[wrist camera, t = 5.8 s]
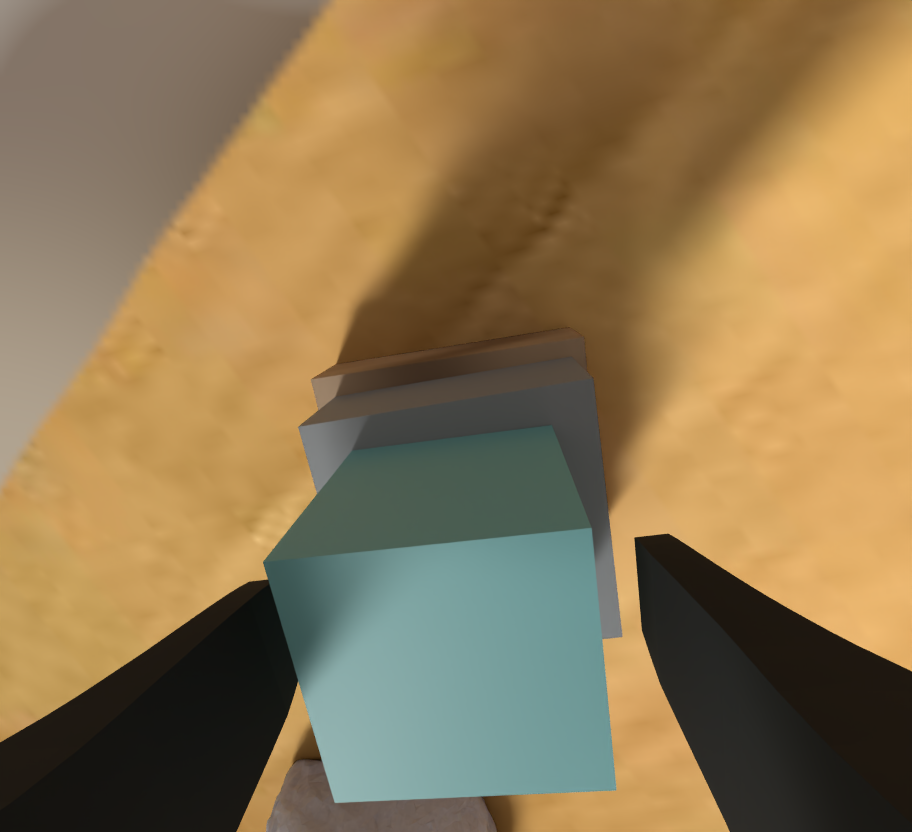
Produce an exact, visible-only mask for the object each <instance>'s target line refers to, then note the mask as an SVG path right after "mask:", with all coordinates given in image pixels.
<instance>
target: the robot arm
mask: <svg viewBox="0 0 912 832" xmlns="http://www.w3.org/2000/svg"><path fill="white" fill-rule="evenodd" d="M635 550H636V563H637V575H638V587H639V600H640V612H641V625H642V632H643V635H644V638H645V641H646V644H647V647H648V650H649V653H650V656H651V659H652V662H653V665H654V667H655V670H656V673H657V676H658V679H659V682H660V684H661V686H662V689H663V691H664V693H665V695H666V697H667V699H668V702H669V704H670V706H671V708H672V710H673V712H674V714H675V717H676V719H677V721H678V723H679V725H680V727H681V729H682V731H683V734H684V736H685V738H686V740H687V742H688V744H689V746H690V748H691V750H692V752H693V755H694V757H695V759H696V761H697V763H698V765H699V767H700V769H701V771H702V773H703V776H704V778H705V780H706V782H707V784H708V786H709V788H710V790H711V792H712V795H713V797H714V799H715V801H716V803H717V805H718V807H719V809H720V811H721V813H722V816H723V818H724V820H725V822H726V824H727V826H728V829H729V831H730V832H912V671H910V670H908V669H906V668H903V667H901V666H899V665H897V664H895V663H893V662H891V661H889V660H887V659H885V658H882V657H880V656H878V655H876V654H874V653H872V652H870V651H868V650H866V649H863V648H861V647H859V646H857V645H855V644H853V643H851V642H849V641H848V640H846V639H844V638H842V637H840V636H838V635H836V634H834V633H832V632H830V631H828V630H826V629H825V628H823V627H821V626H819V625H817V624H816V623H814V622H812V621H810V620H808V619H806V618H805V617H803V616H801V615H799V614H797V613H796V612H794V611H792V610H790V609H788V608H787V607H785V606H783V605H781V604H780V603H778V602H776V601H775V600H773V599H771V598H769V597H768V596H766V595H764V594H763V593H761V592H759V591H758V590H756V589H754V588H753V587H751V586H750V585H748V584H746V583H745V582H743V581H742V580H740V579H738V578H737V577H735V576H734V575H732V574H730V573H729V572H727V571H726V570H724V569H723V568H721V567H720V566H718V565H716V564H715V563H713V562H712V561H710V560H709V559H707V558H706V557H704V556H703V555H701V554H700V553H698V552H697V551H695V550H694V549H692V548H691V547H689V546H687V545H686V544H684V543H683V542H681V541H680V540H678V539H677V538H675V537H673V536H672V535H670V534H661V535H653V536H644V537H635ZM297 683H298V678H297V674H296V671H295V668H294V664H293V661H292V658H291V654H290V651H289V648H288V644H287V641H286V637H285V634H284V631H283V627H282V624H281V621H280V617H279V614H278V611H277V607H276V604H275V601H274V597H273V594H272V590H271V587H270V584H269V580H261V581H252V582H248V583H246V584H244V585H242V586H241V587H239V588H237V589H236V590H234V591H232V592H231V593H229V594H228V595H226V596H225V597H223V598H222V599H220V600H219V601H217V602H216V603H214V604H213V605H211V606H210V607H208V608H207V609H205V610H204V611H202V612H201V613H200V614H198V615H197V616H195V617H194V618H192V619H191V620H190V621H188V622H187V623H185V624H184V625H182V626H181V627H180V628H178V629H177V630H175V631H174V632H172V633H171V634H170V635H168V636H167V637H165V638H164V639H162V640H161V641H160V642H158V643H157V644H155V645H154V646H152V647H151V648H150V649H148V650H147V651H145V652H144V653H142V654H141V655H139V656H138V657H136V658H135V659H133V660H132V661H130V662H129V663H127V664H126V665H124V666H123V667H121V668H120V669H118V670H117V671H115V672H114V673H112V674H111V675H109V676H108V677H106V678H105V679H103V680H102V681H100V682H99V683H97V684H96V685H94V686H92V687H91V688H89V689H88V690H86V691H85V692H83V693H82V694H80V695H79V696H77V697H76V698H74V699H72V700H71V701H69V702H68V703H66V704H64V705H63V706H61V707H60V708H58V709H56V710H55V711H53V712H51V713H50V714H48V715H46V716H45V717H43V718H42V719H40V720H38V721H36V722H35V723H33V724H31V725H29V726H28V727H26V728H24V729H23V730H21V731H19V732H17V733H16V734H14V735H12V736H11V737H9V738H7V739H5V740H4V741H2V742H0V832H236V831H237V829H238V827H239V825H240V822H241V820H242V818H243V816H244V813H245V811H246V809H247V807H248V804H249V802H250V800H251V798H252V795H253V793H254V791H255V789H256V786H257V784H258V782H259V780H260V777H261V775H262V773H263V771H264V768H265V766H266V764H267V762H268V759H269V757H270V755H271V752H272V750H273V748H274V746H275V743H276V741H277V739H278V736H279V734H280V732H281V729H282V727H283V725H284V722H285V720H286V718H287V715H288V712H289V709H290V706H291V703H292V700H293V696H294V693H295V690H296V686H297Z"/></svg>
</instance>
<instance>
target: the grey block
mask: <svg viewBox="0 0 912 832" xmlns="http://www.w3.org/2000/svg"><path fill="white" fill-rule="evenodd" d="M548 425H552V427H553V429H554V432H555V434H556V437H557V440H558V442H559V445H560V447H561V450H562V453H563V455H564V458H565V460H566V463H567V466H568V468H569V471H570V473H571V476H572V478H573V481H574V484H575V486H576V489H577V491H578V494H579V497H580V499H581V502H582V504H583V507H584V509H585V512H586V515H587V517H588V520H589V522H590V525H591V528H592V537H593V548H594V558H595V569H596V579H597V590H598V601H599V611H600V622H601V632H602V639H608V638H617V637H622V629H621V620H620V611H619V602H618V593H617V584H616V575H615V566H614V558H613V549H612V540H611V531H610V522H609V513H608V504H607V495H606V487H605V478H604V469H603V460H602V451H601V442H600V433H599V424H598V416H597V407H596V398H595V389H594V380H593V377H592V376H591V375H590V374H589V373H588V372H587V371H586V370H585V369H584V368H583V367H582V366H581V365H580V364H579V363H578V362H577V361H576V360H575V359H574V358H573V357H566V358H560V359H554V360H548V361H542V362H536V363H531V364H525V365H519V366H513V367H507V368H501V369H495V370H489V371H483V372H478V373H472V374H466V375H460V376H454V377H448V378H442V379H436V380H430V381H425V382H419V383H413V384H407V385H401V386H395V387H389V388H383V389H378V390H372V391H366V392H360V393H354V394H348V395H342V396H337V397H334V398H333V399H332V400H331V401H330V402H328V403H327V404H326V405H325V406H323V407H322V408H321V409H320V410H318V411H317V412H316V413H315V414H313V415H312V416H311V417H310V418H309V419H307V420H306V421H305V422H304V423H302V424H301V425H300V426H299V427H298V428H299V431H300V435H301V438H302V442H303V446H304V449H305V453H306V456H307V460H308V463H309V467H310V470H311V474H312V477H313V481H314V484H315V488H316V491H317V494H318V493H319V491H320V490H321V489H322V488H323V486H324V485H325V484H326V483H327V481H328V480H329V479H330V478H331V476H332V475H333V474H334V472H335V471H336V470H337V469H338V467H339V466H340V465H341V464H342V462H343V461H344V460H345V459H346V457H347V456H348V455H349V454H350V452H351V451H353V450H361V449H368V448H376V447H384V446H392V445H400V444H407V443H415V442H423V441H431V440H439V439H446V438H454V437H462V436H470V435H478V434H485V433H493V432H501V431H509V430H517V429H524V428H532V427H540V426H548Z"/></svg>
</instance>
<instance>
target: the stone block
mask: <svg viewBox="0 0 912 832" xmlns="http://www.w3.org/2000/svg"><path fill="white" fill-rule="evenodd" d="M266 832H497V830H496V826H495V823H494V821H493V819H492V816H491V814H490V813H489V811H488V809H487V807H486V805H485V801H484V799H483V797H482V796H478V797H456V798H434V799H411V800H389V801H366V802H344V803H335V802H334V799H333V795H332V792H331V789H330V785H329V782H328V778H327V775H326V772H325V768H324V765H323V762H322V761H318V760H308V759H302V760H297V761H296V762H295V763H294V764H293V765H292V766H291V768H290V769H289V771H288V772H287V774H286V777H285V780H284V783H283V786H282V788H281V791H280V793H279V795H278V796H277V798H276V801H275V804H274V807H273V810H272V814H271V817H270V818H269V819H268V821H267V828H266Z"/></svg>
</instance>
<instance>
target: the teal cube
mask: <svg viewBox="0 0 912 832" xmlns="http://www.w3.org/2000/svg"><path fill="white" fill-rule="evenodd" d="M263 564H264V567H265V570H266V574H267V577H268V580H269V584H270V587H271V590H272V594H273V597H274V601H275V604H276V607H277V611H278V614H279V617H280V621H281V624H282V627H283V631H284V634H285V637H286V641H287V644H288V648H289V651H290V654H291V658H292V661H293V664H294V668H295V671H296V674H297V678H298V681H299V684H300V688H301V691H302V695H303V698H304V701H305V705H306V708H307V711H308V715H309V718H310V721H311V725H312V728H313V731H314V735H315V738H316V742H317V745H318V748H319V752H320V755H321V758H322V762H323V765H324V768H325V772H326V775H327V778H328V782H329V785H330V789H331V792H332V795H333V799H334V802H335V803H344V802H366V801H389V800H411V799H434V798H456V797H478V796H501V795H523V794H545V793H568V792H590V791H612V790H616V781H615V770H614V759H613V749H612V738H611V728H610V717H609V706H608V696H607V685H606V675H605V664H604V654H603V643H602V632H601V622H600V611H599V601H598V590H597V579H596V569H595V558H594V548H593V537H592V528H591V525H590V522H589V520H588V517H587V515H586V512H585V509H584V507H583V504H582V502H581V499H580V497H579V494H578V491H577V489H576V486H575V484H574V481H573V478H572V476H571V473H570V471H569V468H568V466H567V463H566V460H565V458H564V455H563V453H562V450H561V447H560V445H559V442H558V440H557V437H556V434H555V432H554V429H553V427H552V425H548V426H540V427H532V428H524V429H517V430H509V431H501V432H493V433H485V434H478V435H470V436H462V437H454V438H446V439H439V440H431V441H423V442H415V443H407V444H400V445H392V446H384V447H376V448H368V449H361V450H353V451H351V452H350V454H349V455H348V456H347V457H346V459H345V460H344V461H343V462H342V464H341V465H340V466H339V467H338V469H337V470H336V471H335V472H334V474H333V475H332V476H331V478H330V479H329V480H328V481H327V483H326V484H325V485H324V486H323V488H322V489H321V490H320V491H319V493H318V494H317V495H316V496H315V498H314V499H313V500H312V501H311V503H310V504H309V505H308V506H307V508H306V509H305V510H304V511H303V513H302V514H301V515H300V516H299V518H298V519H297V520H296V521H295V523H294V524H293V525H292V526H291V528H290V529H289V530H288V531H287V533H286V534H285V535H284V536H283V538H282V539H281V540H280V541H279V543H278V544H277V545H276V546H275V548H274V549H273V550H272V552H271V553H270V554H269V555H268V557H267V558H266V559H265V560H264V562H263Z"/></svg>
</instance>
